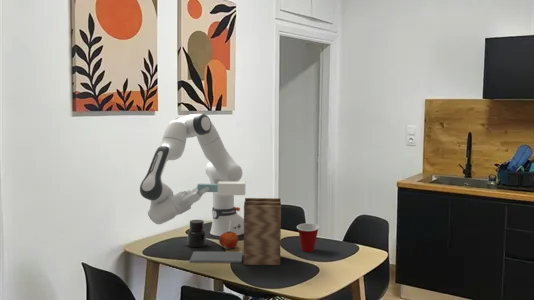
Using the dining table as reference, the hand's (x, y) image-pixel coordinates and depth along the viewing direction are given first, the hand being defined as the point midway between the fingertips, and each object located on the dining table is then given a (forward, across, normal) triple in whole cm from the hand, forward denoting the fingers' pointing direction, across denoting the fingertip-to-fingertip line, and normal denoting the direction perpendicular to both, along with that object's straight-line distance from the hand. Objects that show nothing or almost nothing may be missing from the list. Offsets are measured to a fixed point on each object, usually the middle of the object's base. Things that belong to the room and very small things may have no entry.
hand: (209, 186), depth 225 cm
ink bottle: (-24, +21, +24) cm, 40 cm away
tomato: (-10, +18, +32) cm, 38 cm away
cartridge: (+3, 0, +5) cm, 6 cm away
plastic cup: (+23, +14, +51) cm, 58 cm away
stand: (+4, 0, +40) cm, 41 cm away
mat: (-14, +2, +30) cm, 33 cm away
